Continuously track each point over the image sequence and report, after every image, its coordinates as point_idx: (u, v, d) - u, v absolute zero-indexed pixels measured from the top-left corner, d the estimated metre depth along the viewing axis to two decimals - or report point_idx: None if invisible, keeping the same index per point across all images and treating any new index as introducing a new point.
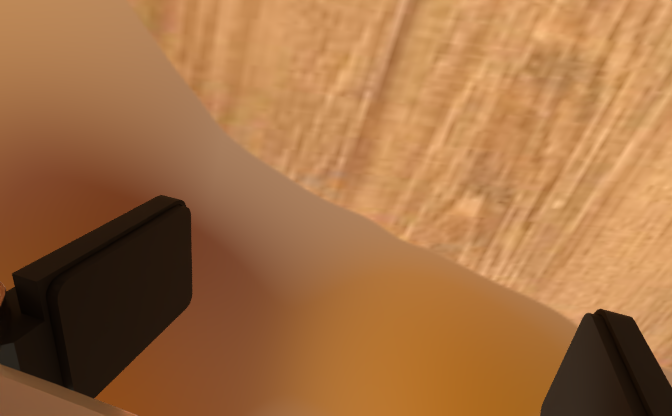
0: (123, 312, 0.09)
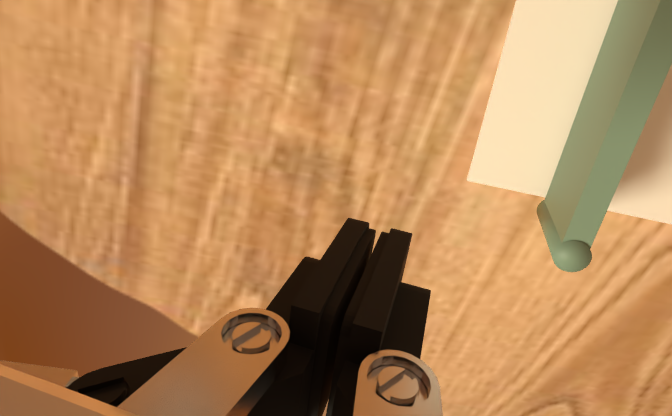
0: None
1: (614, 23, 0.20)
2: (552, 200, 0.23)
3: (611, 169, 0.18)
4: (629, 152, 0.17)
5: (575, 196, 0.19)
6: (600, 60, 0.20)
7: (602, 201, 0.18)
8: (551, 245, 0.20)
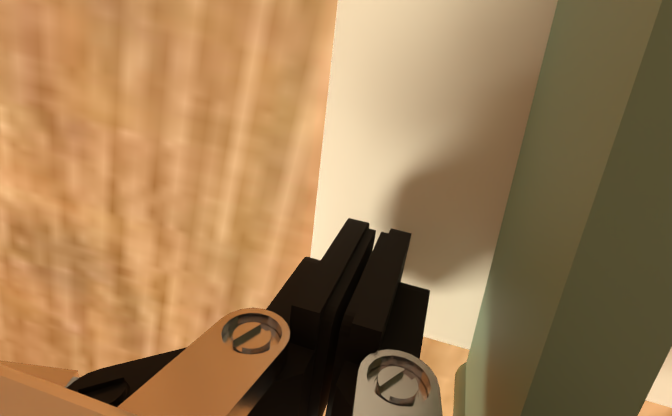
0: None
1: None
2: (470, 389, 0.10)
3: None
4: (629, 408, 0.05)
5: None
6: (543, 82, 0.08)
7: None
8: None
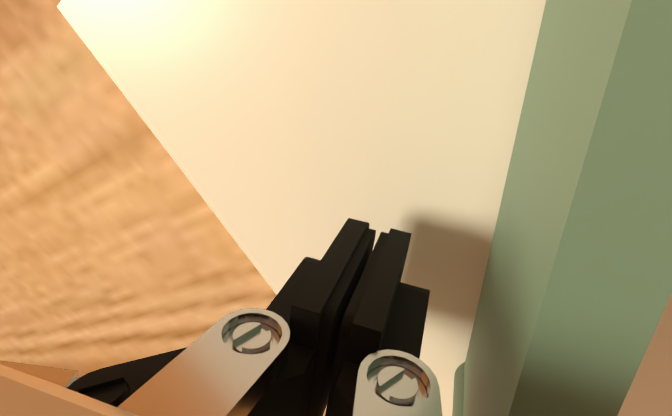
0: None
1: None
2: (467, 388, 0.11)
3: None
4: (610, 405, 0.05)
5: None
6: (531, 90, 0.08)
7: None
8: None
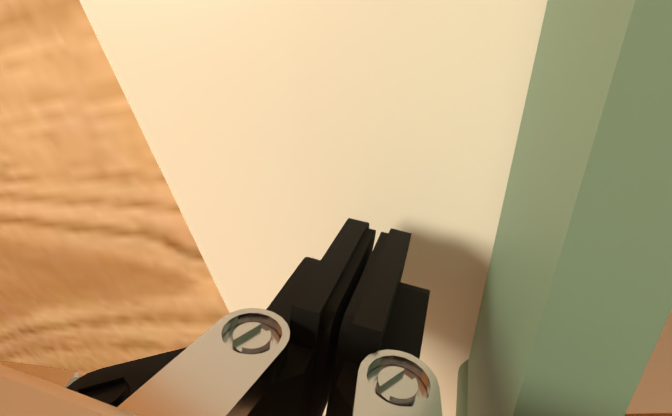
0: None
1: None
2: (471, 385, 0.10)
3: None
4: (618, 401, 0.05)
5: None
6: (535, 82, 0.08)
7: None
8: None
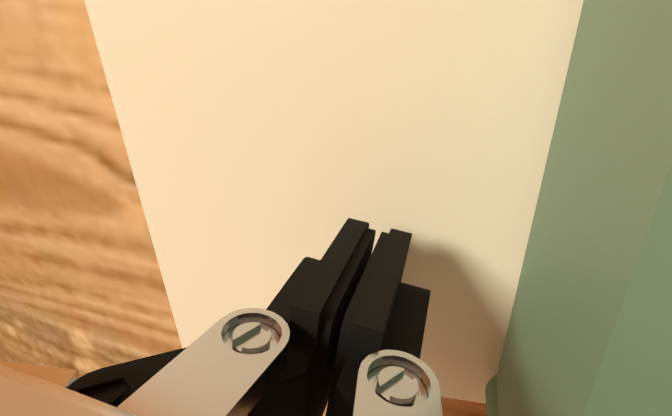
0: None
1: None
2: (504, 403, 0.10)
3: None
4: None
5: None
6: (570, 96, 0.08)
7: None
8: None
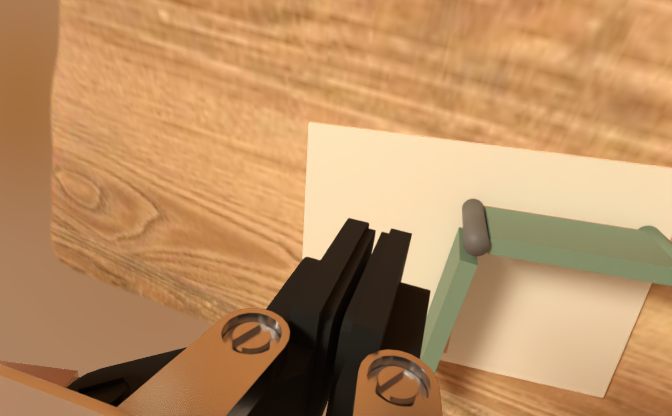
0: None
1: (448, 259, 0.33)
2: None
3: (434, 356, 0.31)
4: (442, 349, 0.31)
5: None
6: (442, 276, 0.34)
7: None
8: None
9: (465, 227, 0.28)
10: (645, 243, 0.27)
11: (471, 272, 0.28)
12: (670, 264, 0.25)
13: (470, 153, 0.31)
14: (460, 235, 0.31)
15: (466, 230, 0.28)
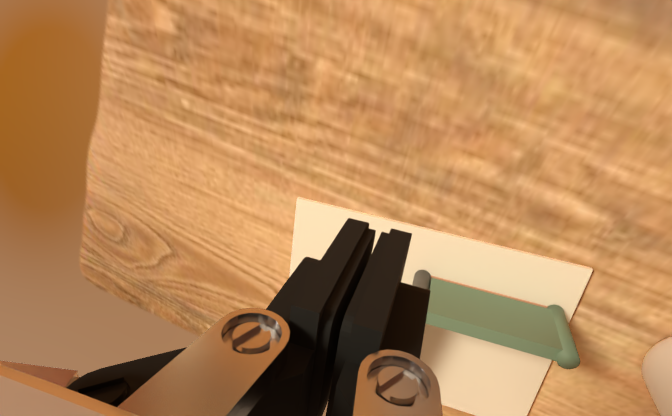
0: None
1: None
2: None
3: None
4: None
5: None
6: None
7: None
8: None
9: None
10: (545, 323, 0.36)
11: None
12: (555, 345, 0.33)
13: (422, 236, 0.39)
14: None
15: None
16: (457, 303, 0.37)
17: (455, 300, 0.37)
